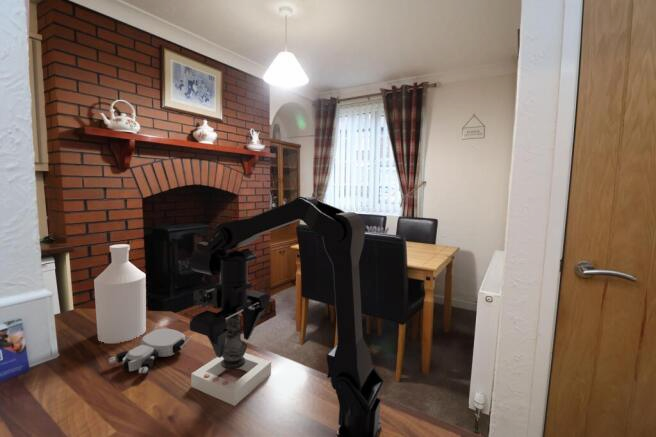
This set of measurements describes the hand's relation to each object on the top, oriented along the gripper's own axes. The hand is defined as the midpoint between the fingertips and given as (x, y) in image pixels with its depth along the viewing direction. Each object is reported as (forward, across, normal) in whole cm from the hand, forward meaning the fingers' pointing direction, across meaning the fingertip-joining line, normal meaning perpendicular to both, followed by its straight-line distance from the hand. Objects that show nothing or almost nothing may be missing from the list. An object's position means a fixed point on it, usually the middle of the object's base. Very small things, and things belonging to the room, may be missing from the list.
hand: (233, 347), depth 69 cm
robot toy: (+8, +3, -23) cm, 24 cm away
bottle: (+8, -1, -41) cm, 42 cm away
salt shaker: (+4, 0, 0) cm, 4 cm away
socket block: (+8, 0, 0) cm, 8 cm away
